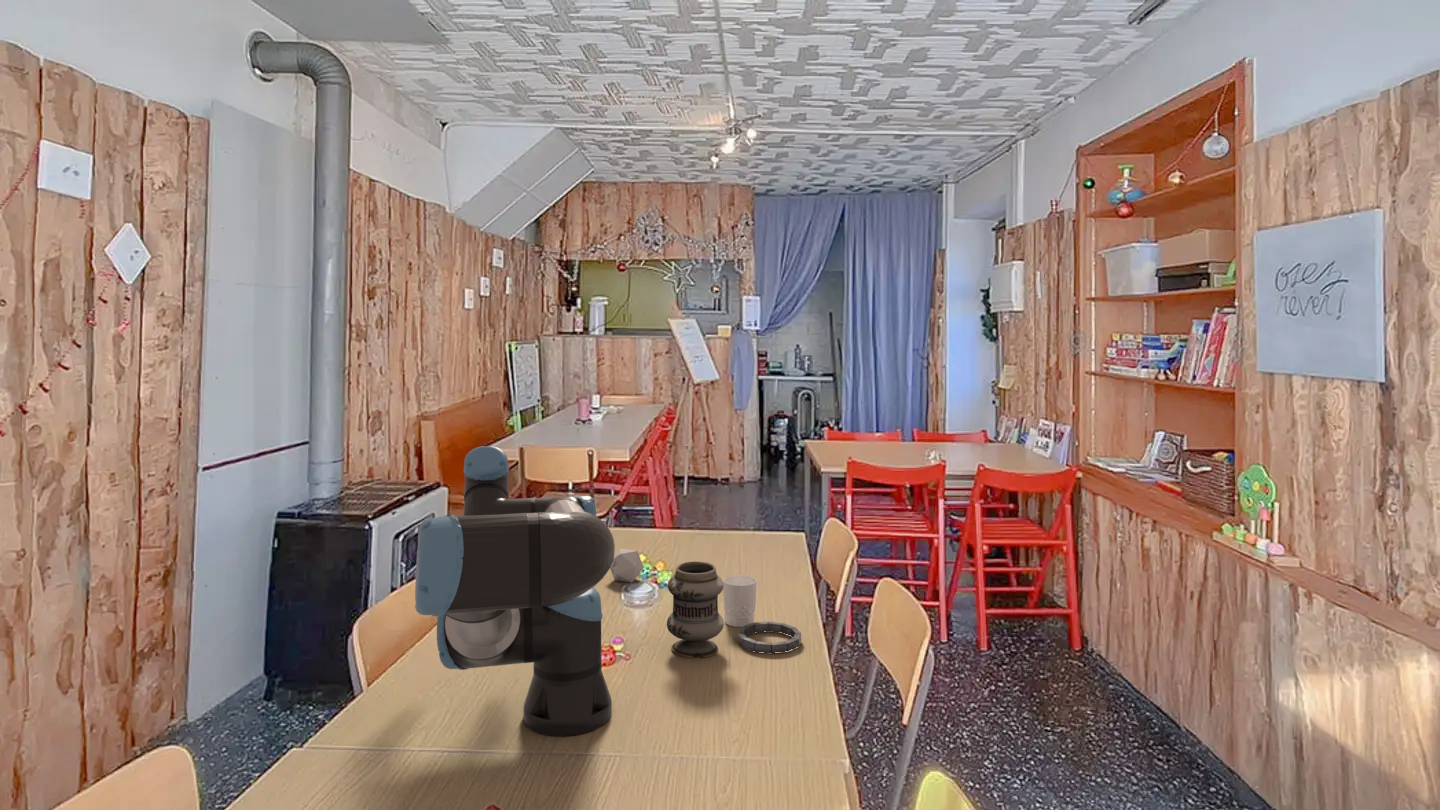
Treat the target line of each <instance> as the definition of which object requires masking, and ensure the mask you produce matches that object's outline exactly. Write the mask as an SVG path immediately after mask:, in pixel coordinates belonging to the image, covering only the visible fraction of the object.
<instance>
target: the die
mask: <svg viewBox="0 0 1440 810" xmlns="http://www.w3.org/2000/svg"><path fill="white" fill-rule="evenodd" d="M643 568H644V569H645V567H644V564H643V562H642V559H641V557H640V553H639V552H638V550H632V549H625V548H619V550H617V552H616V553H614V558H613V562H612V564H611V567H610V569H609V570H610V571H611V574H612V577H613V580H614V581H619V582H624V583H631V582H632V583H633V582H634V581H635V580H636V578H638V576H639V575H640V574H641V573H640V571H641V570H642V569H643ZM644 569H643V570H644ZM643 570H642V571H643Z"/></svg>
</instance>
